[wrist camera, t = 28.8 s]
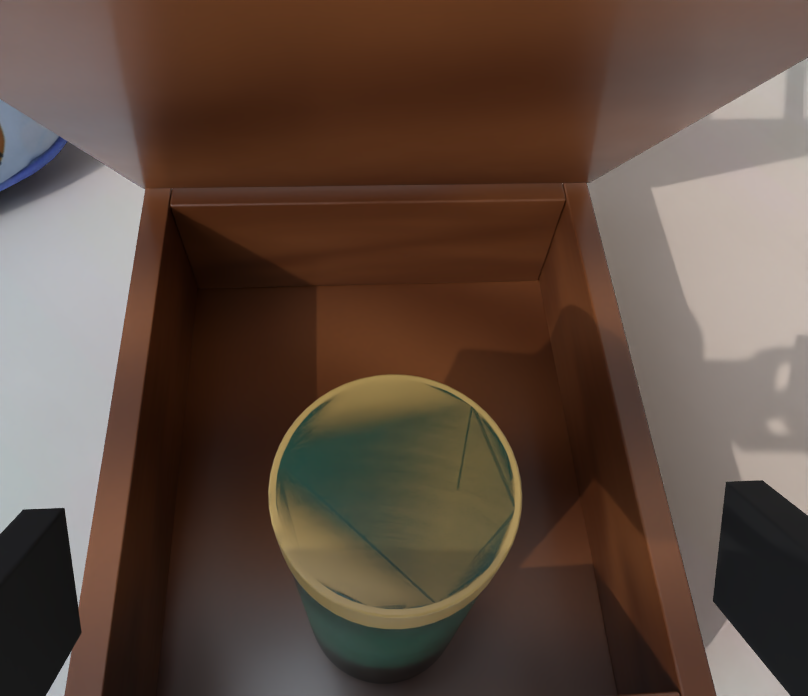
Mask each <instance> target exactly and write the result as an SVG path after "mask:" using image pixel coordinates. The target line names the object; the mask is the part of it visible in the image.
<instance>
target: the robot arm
mask: <svg viewBox="0 0 808 696" xmlns="http://www.w3.org/2000/svg"><path fill="white" fill-rule="evenodd" d="M713 602H714V603H715V604H716V605H717V607H718V608H719V609H720V610H721V611H722V613H723V614H724V615H725V616H726V618H727V619H728V620H729V621H730V622H731V624H732V625H733V626H734V627H735V629H736V630H737V631H738V632H739V633H740V635H741V636H742V637H743V638H744V640H745V641H746V642H747V643H748V644H749V646H750V647H751V648H752V649H753V650H754V652H755V653H756V654H757V655H758V657H759V658H760V659H761V660H762V661H763V663H764V664H765V665H766V666H767V668H768V669H769V670H770V671H771V672H772V674H773V675H774V676H775V677H776V679H777V680H778V681H779V682H780V683H781V685H782V686H783V687H784V688H785V690H786V691H787V692H788V693H789V694H790V696H808V516H807V515H806V514H805V513H804V512H802V511H801V510H800V509H798V508H797V507H796V506H795V505H793V504H792V503H791V502H789V501H788V500H787V499H786V498H784V497H783V496H782V495H780V494H779V493H778V492H777V491H775V490H774V489H773V488H771V487H770V486H769V485H768V484H766V483H765V482H764V481H762V480H761V481H735V482H726V487H725V496H724V505H723V514H722V523H721V532H720V541H719V551H718V560H717V569H716V578H715V587H714V596H713ZM81 633H82V631H81V624H80V617H79V610H78V602H77V595H76V588H75V581H74V574H73V567H72V559H71V552H70V545H69V538H68V531H67V523H66V516H65V509H64V508H53V509H28V510H22V512H21V513H20V514H19V515H18V516H17V517H16V518H15V519H14V520H13V521H12V522H11V523H10V524H9V525H8V526H7V527H6V529H5V530H4V531H3V532H2V533H1V534H0V696H46V694H47V693H48V691H49V689H50V687H51V686H52V684H53V682H54V680H55V679H56V677H57V675H58V673H59V672H60V670H61V668H62V666H63V665H64V663H65V661H66V659H67V658H68V656H69V654H70V652H71V651H72V649H73V647H74V645H75V644H76V642H77V640H78V638H79V637H80V635H81Z"/></svg>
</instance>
